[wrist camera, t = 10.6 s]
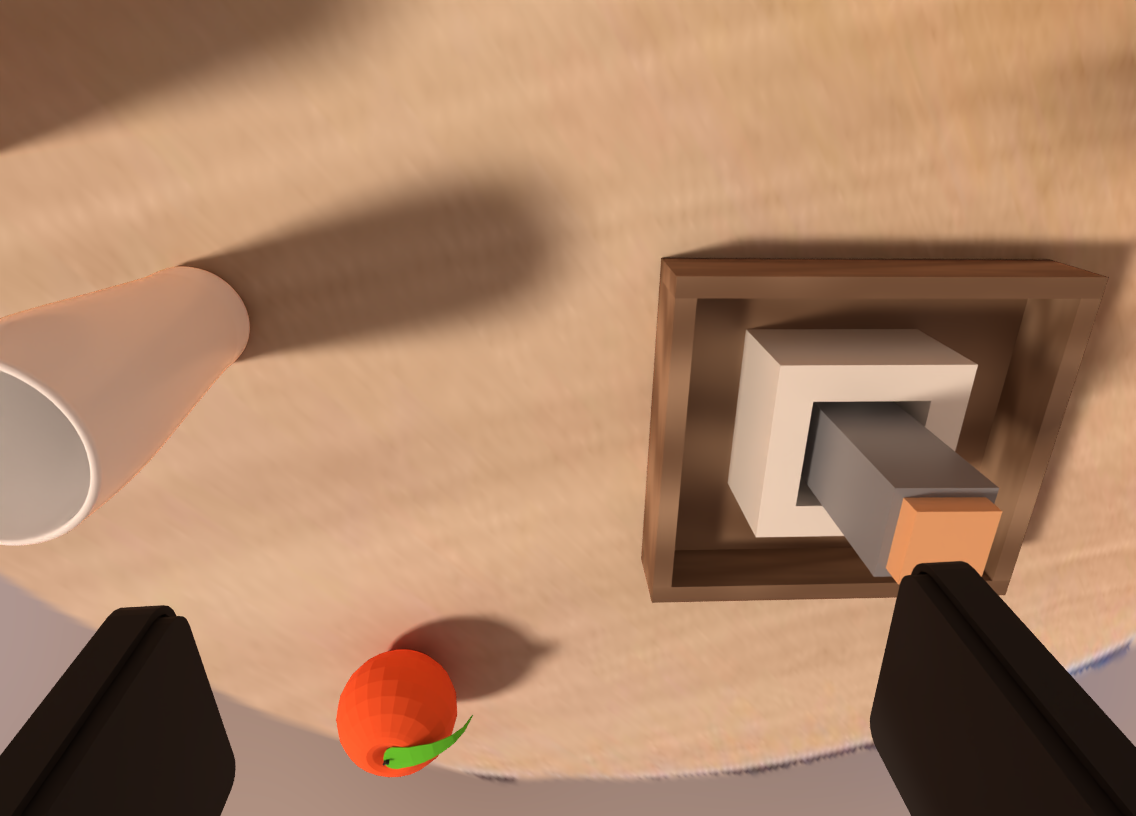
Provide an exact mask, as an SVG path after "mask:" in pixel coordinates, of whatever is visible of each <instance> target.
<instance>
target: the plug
mask: <svg viewBox="0 0 1136 816" xmlns="http://www.w3.org/2000/svg"><path fill="white" fill-rule="evenodd" d="M801 477H802V478H803V480H804V481H805V482H806V484H807V485H808V487H809V488H810V489H811V491H812V492H813V493H814V495H815V496H816V498H817V499H818V500H819V502H820V503H821V504H822V506H823V507H824V509H825V510H826V511H827V513H828V514H829V516H830V517H831V518H832V520H833V521H834V522H835V524H836V525H837V527H838V528H839V529H840V531H841V532H842V533H843V535H844V536H845V538H846V539H847V540H848V542H849V543H850V545H851V546H852V547H853V549H854V550H855V551H856V553H857V554H858V556H859V557H860V558H861V560H862V561H863V562H864V564H865V565H866V567H867V568H868V569H869V571H870V572H871V573H872V575H873V576H874V577H893V578H894V580H895V581H896V582H897V584H900V582H901V580H902V578H903V577H904V576H906V575H911V573H912V571H913V568H914V567H915V566H916V565H917V564H921V563H933V562H951V561H963V562H966V563H968V564H969V565H971V566H972V567H973V568H974V569H975V570H976V571H977V572H978V573H979V575H980V576H981V577H982V575H983V571H984V568H985V565H986V562H987V559H988V556H989V553H990V549H991V546H992V543H993V540H994V537H995V534H996V531H997V527H998V524H999V521H1000V518H1001V515H1002V512H1003V511H1001V510H1000V509H999V508H998V507H997V506H996V505H995V504H994V503H995V500H996V497H997V494H998V490H999V487H998V486H996V485H995V484H994V483H993V482H991V481H990V480H989V479H988V478H987V477H985V476H984V475H983V474H982V473H980V472H979V471H978V470H977V469H976V468H974V467H973V466H972V465H971V464H970V463H968V462H967V461H966V460H965V459H963V458H962V457H961V456H960V455H959V454H957V453H956V452H955V451H954V450H952V449H951V448H950V447H949V446H948V445H946V444H945V443H944V442H943V441H941V440H940V439H939V438H938V437H937V436H935V435H934V434H933V433H932V432H931V431H929V430H928V429H927V428H926V427H924V426H923V425H922V424H921V423H920V422H918V421H917V420H916V419H915V418H913V417H912V416H911V415H910V414H909V413H907V412H906V411H905V410H904V409H903V408H901V407H900V406H899V405H898V404H896V403H895V402H894V401H853V402H813V406H812V412H811V418H810V424H809V430H808V436H807V442H806V448H805V454H804V460H803V466H802V472H801Z"/></svg>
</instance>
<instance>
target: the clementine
mask: <svg viewBox="0 0 1136 816" xmlns="http://www.w3.org/2000/svg"><path fill="white" fill-rule="evenodd" d="M472 716H473V715H472ZM472 716H471V717H470V719H469V720H468V721H467V723H466V724H465V725H464V727H463V728H461V729H460V730H458V731H457V732H455V733H454V734H453V735H451V734H452V731H453V728H454V724H455V721H456V717H457V702H456V692H455V689H454V687H453V685H452V682H451V680H450V678H449V675H448V673H447V672H446V671H445V670H444V668H443V667H442V666H441V665H440V664H439V663H437V662H436V661H435V660H433V659H432V658H431V657H429V656H428V655H426V654H423V653H421V652H418V651H414V650H408V649H400V650H393V651H388V652H385V653H382V654H379V655H377V656H375V657H373V658H371V659H369V660H368V661H367V662H365V663H364V664H363V665H362V666H361V667H360V668H359V669H358V670H357V671H356V672H355V673H353V674H352V676H351V677H350V679H349V681H348V682H347V684H346V686H345V688H344V690H343V692H342V694H341V696H340V700H339V705H338V711H337V718H336V721H337V727H338V733H339V738H340V742H341V744H342V746H343V748H344V750H345V751H346V753H347V754H348V756H349V757H350V759H351V760H352V761H353V762H354V763H355V764H356V765H357V766H358V767H360V768H362V769H363V770H365V771H366V772H369V773H372V774H375V775H378V776H385V777H401V776H405V775H410V774H412V773H415V772H417V771H419V770H421V769H422V768H424V767H425V766H427V765H428V764H429V763H430V762H432V761H433V760H434V759H436V758H437V757H438V755H439V754H440V753H442V752H443V751H445V750H446V749H447V748H449V747H450V746H451V745H452V744H454V743H455V742H456V741H457V739H458V738H459V737H460V736H461V735H462V734H463V733H464V731H465V730H466V728H467V726H468V724H469V722H470V720H471V718H472Z"/></svg>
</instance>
